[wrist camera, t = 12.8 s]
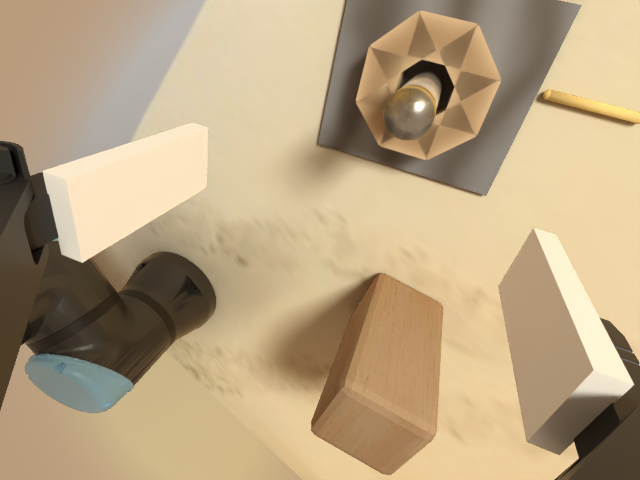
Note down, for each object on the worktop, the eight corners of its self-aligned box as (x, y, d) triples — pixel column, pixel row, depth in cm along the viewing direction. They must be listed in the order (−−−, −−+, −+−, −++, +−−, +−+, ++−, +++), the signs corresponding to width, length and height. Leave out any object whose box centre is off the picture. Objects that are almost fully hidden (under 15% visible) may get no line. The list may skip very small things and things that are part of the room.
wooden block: (350, 314, 55) (305, 434, 38) (380, 267, 49) (341, 384, 33) (409, 346, 54) (389, 482, 38) (446, 302, 49) (440, 440, 32)
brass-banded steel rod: (405, 99, 38) (377, 132, 25) (415, 65, 36) (391, 81, 23) (435, 107, 37) (424, 146, 24) (448, 73, 36) (443, 95, 22)
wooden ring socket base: (319, 142, 44) (306, 152, 40) (357, -43, 34) (344, -52, 30) (485, 193, 40) (488, 210, 37) (579, 5, 31) (596, 1, 27)
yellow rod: (540, 97, 35) (541, 99, 34) (545, 88, 34) (547, 89, 33) (639, 123, 33) (644, 125, 32) (646, 113, 33) (651, 115, 32)
